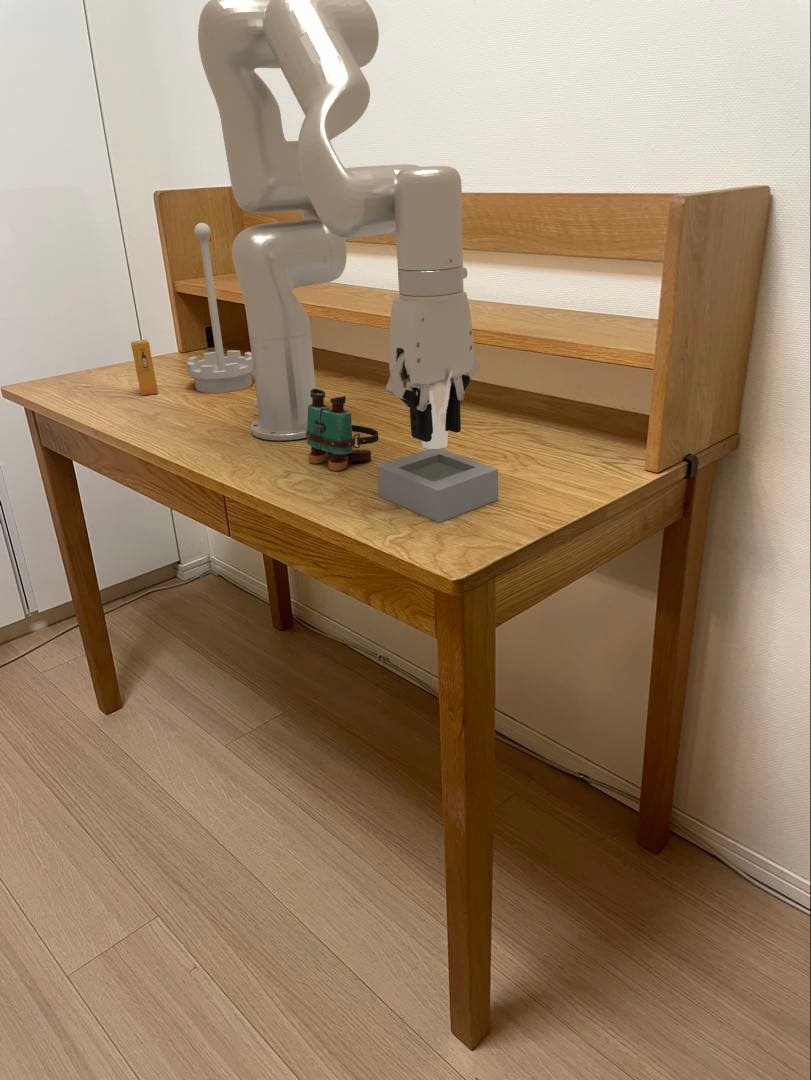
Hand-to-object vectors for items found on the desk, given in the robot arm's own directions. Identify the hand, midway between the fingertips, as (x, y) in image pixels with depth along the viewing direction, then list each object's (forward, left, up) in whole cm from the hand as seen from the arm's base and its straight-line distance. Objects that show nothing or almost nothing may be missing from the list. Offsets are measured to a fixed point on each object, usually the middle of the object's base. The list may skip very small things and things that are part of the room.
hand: (436, 433), depth 105 cm
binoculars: (-21, 0, -9) cm, 23 cm away
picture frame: (0, 0, -9) cm, 9 cm away
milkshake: (0, 0, -2) cm, 2 cm away
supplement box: (-79, -5, -9) cm, 80 cm away
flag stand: (-73, +8, -9) cm, 74 cm away
